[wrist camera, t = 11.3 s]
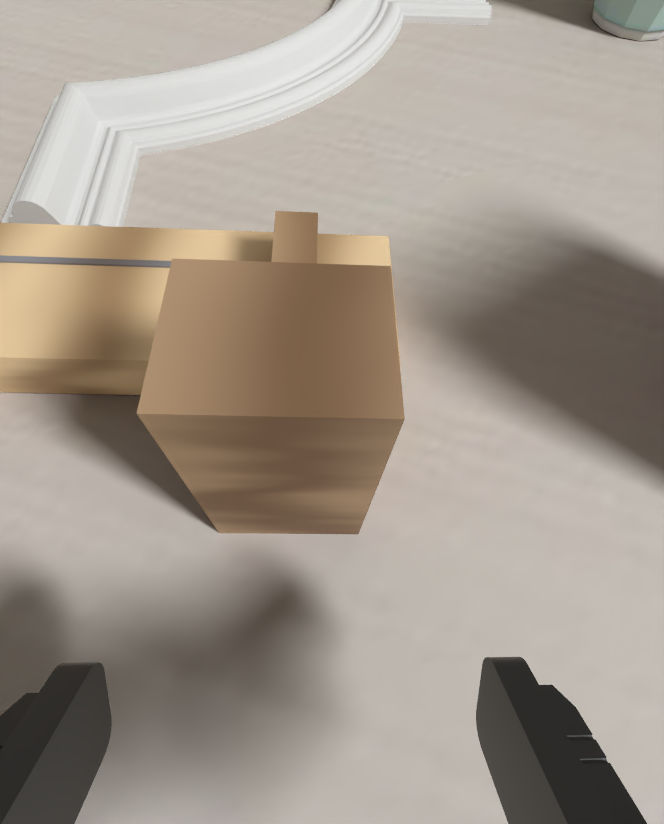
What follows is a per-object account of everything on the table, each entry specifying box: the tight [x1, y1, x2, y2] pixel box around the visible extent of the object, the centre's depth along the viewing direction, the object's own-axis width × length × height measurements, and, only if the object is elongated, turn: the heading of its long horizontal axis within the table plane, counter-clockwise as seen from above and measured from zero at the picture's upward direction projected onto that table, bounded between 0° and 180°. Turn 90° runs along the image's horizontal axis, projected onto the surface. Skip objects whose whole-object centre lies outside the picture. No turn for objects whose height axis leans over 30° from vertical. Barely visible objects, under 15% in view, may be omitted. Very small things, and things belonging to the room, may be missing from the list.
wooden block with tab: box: [137, 211, 404, 534], centre depth 15 cm, size 5×11×9 cm, turn 0°
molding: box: [1, 0, 492, 227], centre depth 31 cm, size 42×12×3 cm, turn 138°
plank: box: [0, 223, 400, 395], centre depth 19 cm, size 24×7×3 cm, turn 90°
